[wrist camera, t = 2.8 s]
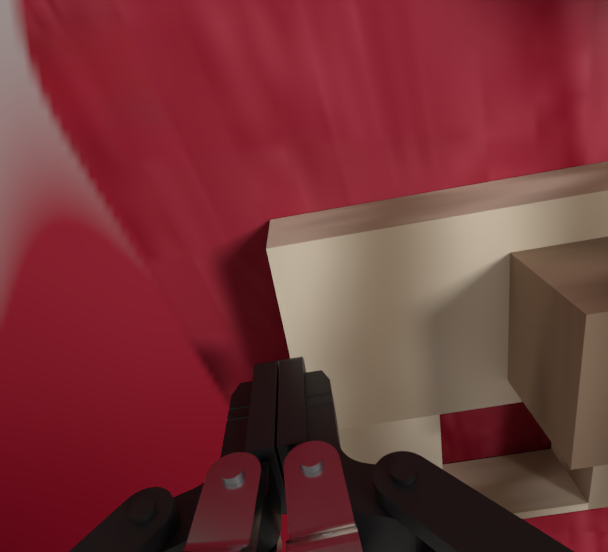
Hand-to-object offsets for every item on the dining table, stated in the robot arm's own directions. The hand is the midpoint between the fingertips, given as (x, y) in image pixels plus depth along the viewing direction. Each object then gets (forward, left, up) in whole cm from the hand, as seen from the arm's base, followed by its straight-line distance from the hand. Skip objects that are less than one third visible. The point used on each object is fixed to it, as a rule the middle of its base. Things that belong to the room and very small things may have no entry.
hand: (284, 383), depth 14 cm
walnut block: (-10, 0, -2) cm, 10 cm away
